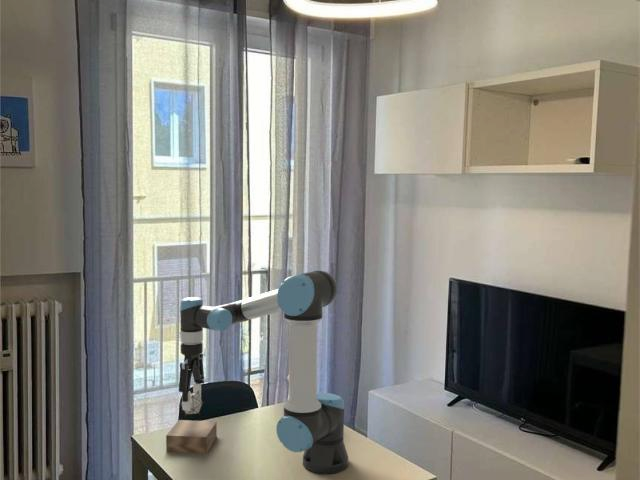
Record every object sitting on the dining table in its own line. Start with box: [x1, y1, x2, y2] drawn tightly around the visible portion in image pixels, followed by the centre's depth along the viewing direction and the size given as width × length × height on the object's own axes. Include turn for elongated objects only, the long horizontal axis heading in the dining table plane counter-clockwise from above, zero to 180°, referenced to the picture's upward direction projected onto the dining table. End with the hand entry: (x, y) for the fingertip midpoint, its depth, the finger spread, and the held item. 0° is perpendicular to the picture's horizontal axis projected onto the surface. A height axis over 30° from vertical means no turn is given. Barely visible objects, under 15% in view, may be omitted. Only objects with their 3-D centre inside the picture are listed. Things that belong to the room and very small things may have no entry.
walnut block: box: [165, 419, 218, 454], centre depth 216 cm, size 14×14×6 cm
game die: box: [178, 391, 205, 417], centre depth 215 cm, size 9×8×10 cm
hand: (191, 405), depth 215 cm, fingers closed on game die, 8 cm apart
